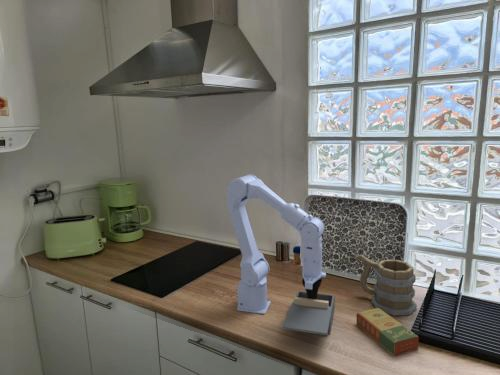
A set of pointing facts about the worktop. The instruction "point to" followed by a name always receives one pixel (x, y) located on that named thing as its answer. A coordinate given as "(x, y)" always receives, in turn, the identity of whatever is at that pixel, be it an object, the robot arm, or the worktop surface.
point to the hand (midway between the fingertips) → (312, 300)
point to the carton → (387, 331)
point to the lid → (308, 316)
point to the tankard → (390, 285)
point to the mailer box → (321, 297)
